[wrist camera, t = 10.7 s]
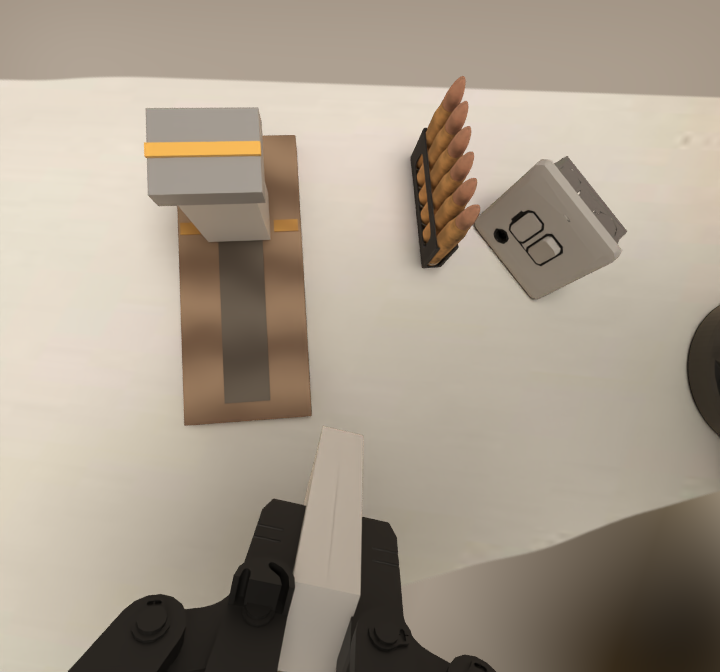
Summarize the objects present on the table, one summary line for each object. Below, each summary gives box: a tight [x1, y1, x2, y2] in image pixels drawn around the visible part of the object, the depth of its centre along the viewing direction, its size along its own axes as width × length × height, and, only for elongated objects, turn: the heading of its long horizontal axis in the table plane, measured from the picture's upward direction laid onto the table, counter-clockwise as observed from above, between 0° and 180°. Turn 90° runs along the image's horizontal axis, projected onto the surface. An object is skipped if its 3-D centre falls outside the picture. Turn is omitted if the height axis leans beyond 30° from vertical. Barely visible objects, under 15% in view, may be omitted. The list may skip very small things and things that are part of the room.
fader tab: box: [144, 108, 270, 242], centre depth 30 cm, size 5×6×11 cm
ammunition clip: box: [411, 76, 480, 268], centre depth 34 cm, size 11×2×12 cm, turn 5°
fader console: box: [177, 135, 312, 426], centre depth 36 cm, size 24×10×2 cm, turn 4°
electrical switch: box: [475, 156, 627, 299], centre depth 36 cm, size 9×5×9 cm, turn 38°
